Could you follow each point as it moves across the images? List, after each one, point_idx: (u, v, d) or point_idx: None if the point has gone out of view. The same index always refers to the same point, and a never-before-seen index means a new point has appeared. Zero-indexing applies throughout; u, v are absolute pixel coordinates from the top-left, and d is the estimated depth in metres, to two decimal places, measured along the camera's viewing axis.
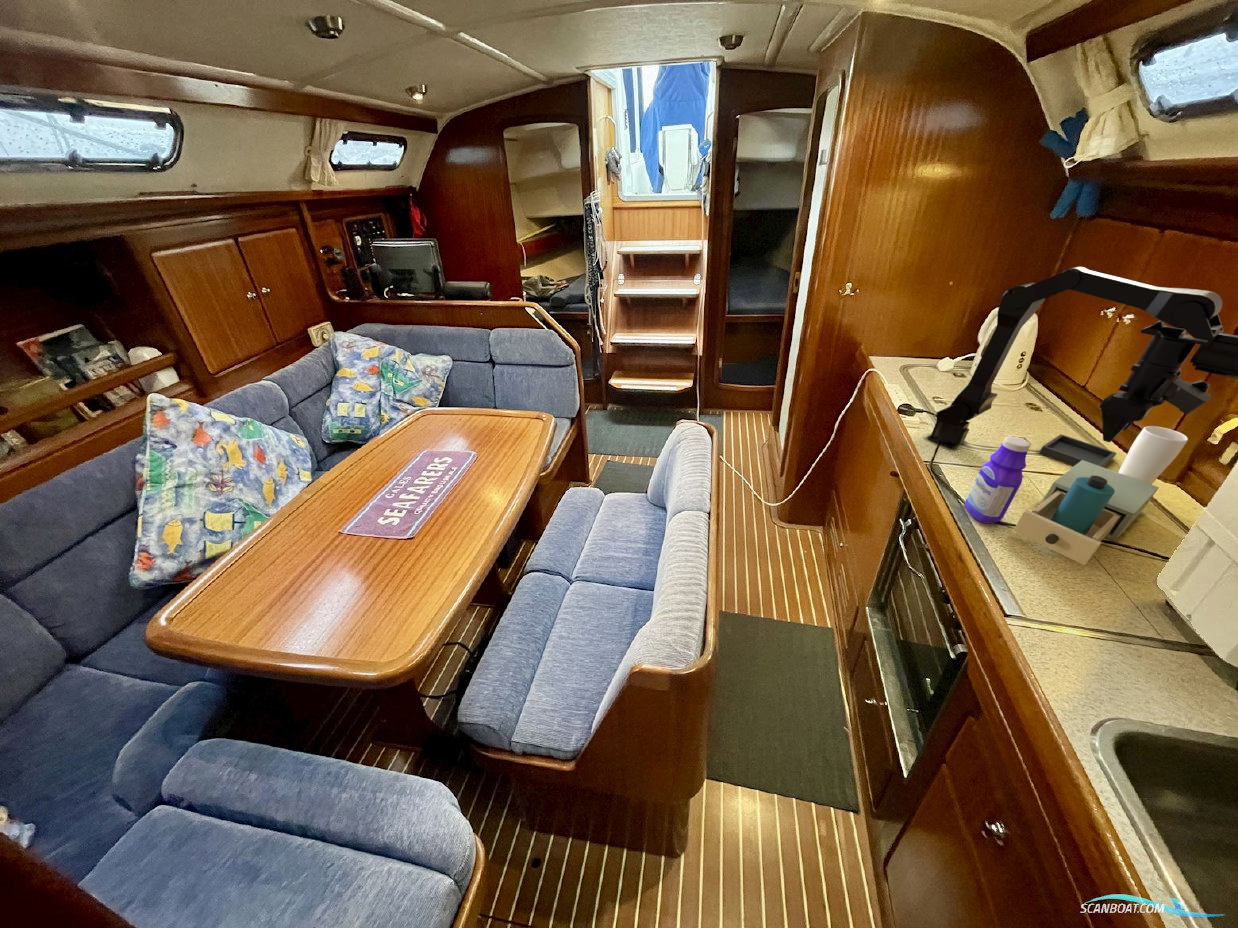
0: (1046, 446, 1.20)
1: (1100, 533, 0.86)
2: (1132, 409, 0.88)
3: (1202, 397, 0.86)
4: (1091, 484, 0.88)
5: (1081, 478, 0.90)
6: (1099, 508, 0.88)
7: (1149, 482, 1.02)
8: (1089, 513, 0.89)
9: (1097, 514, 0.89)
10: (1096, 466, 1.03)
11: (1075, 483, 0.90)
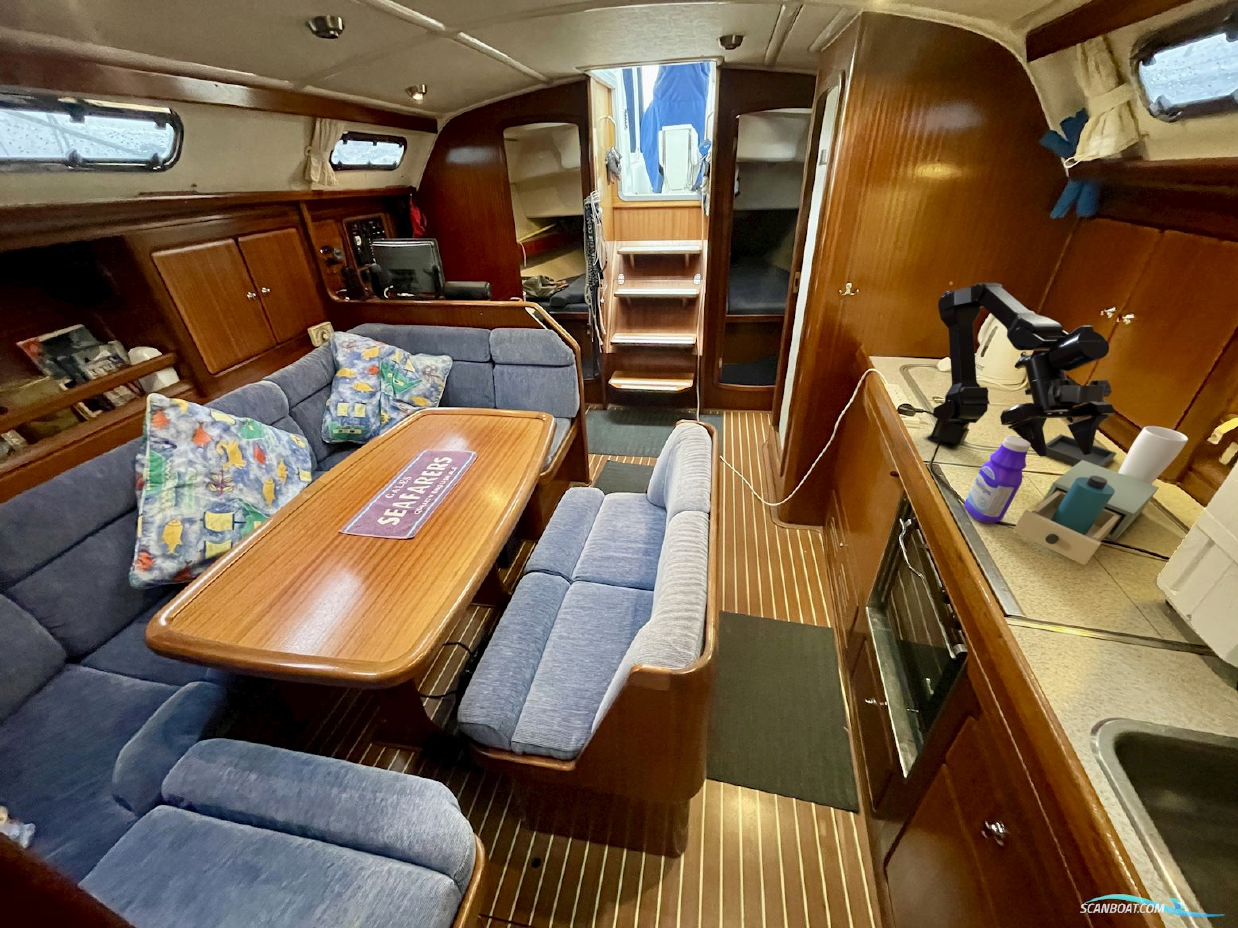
0: (1046, 446, 1.20)
1: (1100, 533, 0.86)
2: (1016, 411, 0.94)
3: None
4: (1091, 484, 0.88)
5: (1081, 478, 0.90)
6: (1099, 508, 0.88)
7: (1149, 482, 1.02)
8: (1089, 513, 0.89)
9: (1097, 514, 0.89)
10: (1096, 466, 1.03)
11: (1075, 483, 0.90)
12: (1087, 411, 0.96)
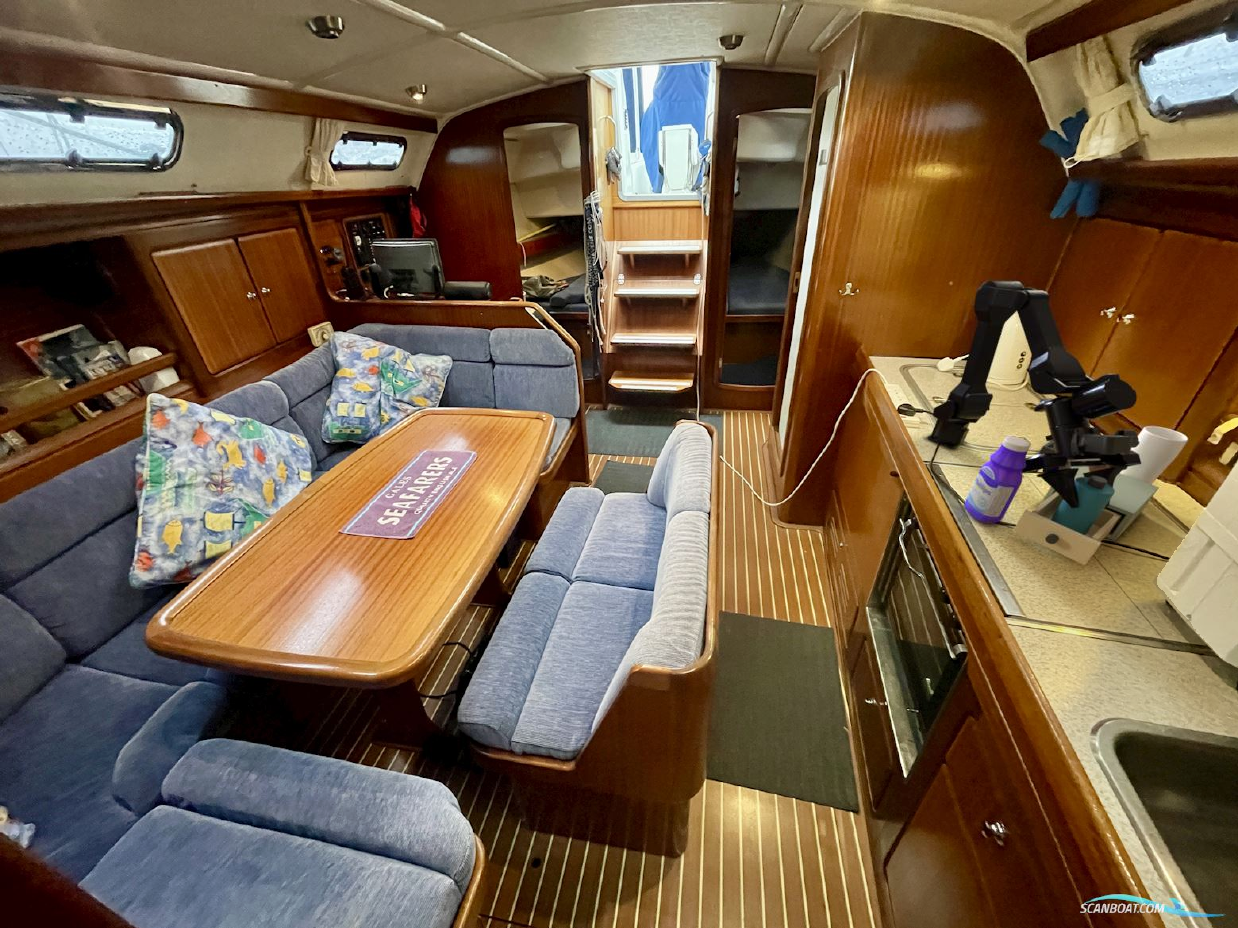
0: (1046, 446, 1.20)
1: (1100, 533, 0.86)
2: (1037, 460, 0.90)
3: (1112, 436, 0.84)
4: (1091, 484, 0.88)
5: (1081, 478, 0.90)
6: (1099, 508, 0.88)
7: (1149, 482, 1.02)
8: (1089, 513, 0.89)
9: (1097, 514, 0.89)
10: None
11: (1075, 483, 0.90)
12: (1112, 460, 0.91)
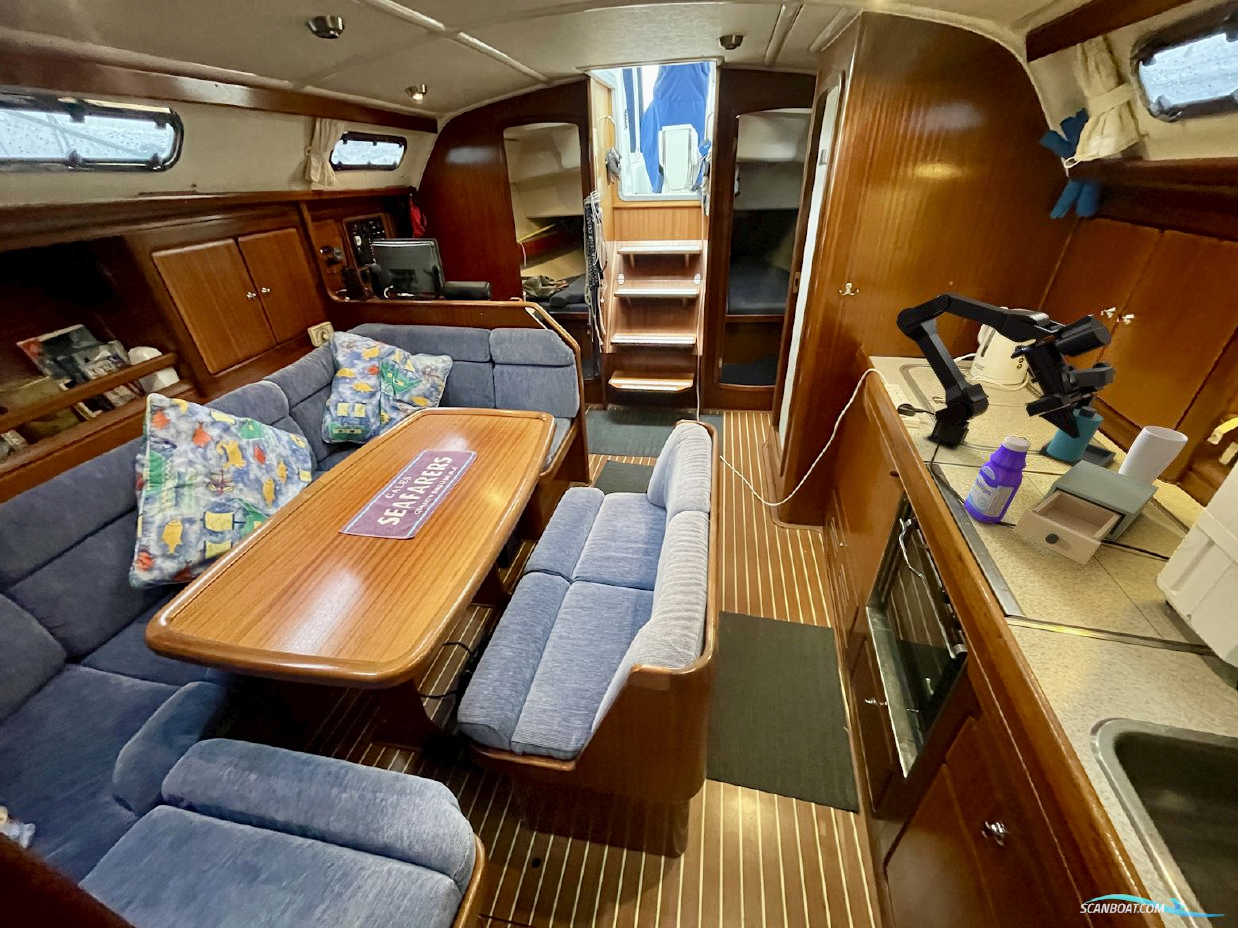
0: (1046, 446, 1.20)
1: (1100, 533, 0.86)
2: (1048, 402, 0.97)
3: (1100, 369, 0.95)
4: (1086, 414, 0.99)
5: None
6: None
7: (1149, 482, 1.02)
8: (1087, 439, 1.00)
9: None
10: (1096, 466, 1.03)
11: None
12: (1081, 390, 1.04)
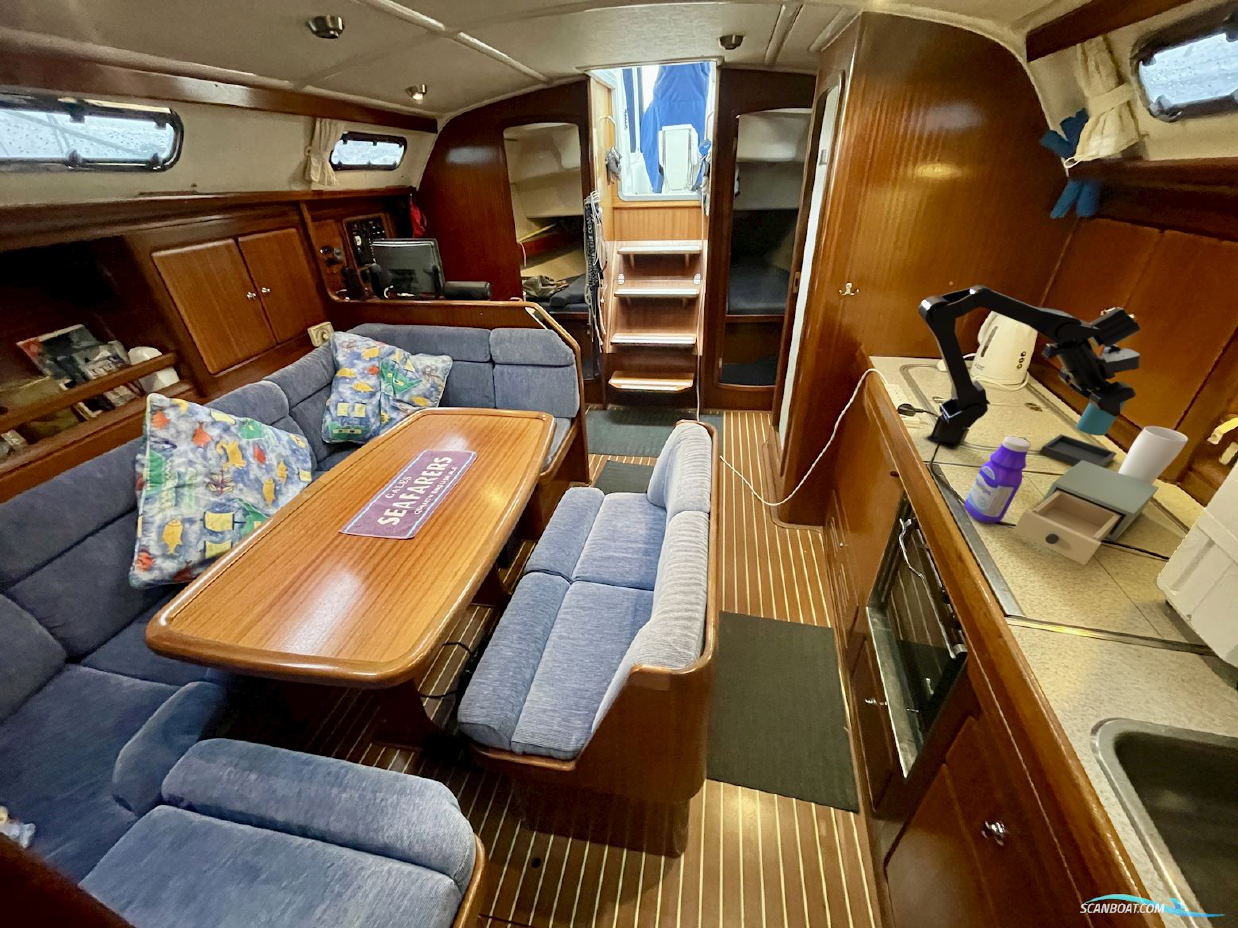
0: (1046, 446, 1.20)
1: (1100, 533, 0.86)
2: (1124, 394, 1.02)
3: (1132, 354, 1.05)
4: None
5: None
6: None
7: (1149, 482, 1.02)
8: None
9: None
10: (1096, 466, 1.03)
11: None
12: None
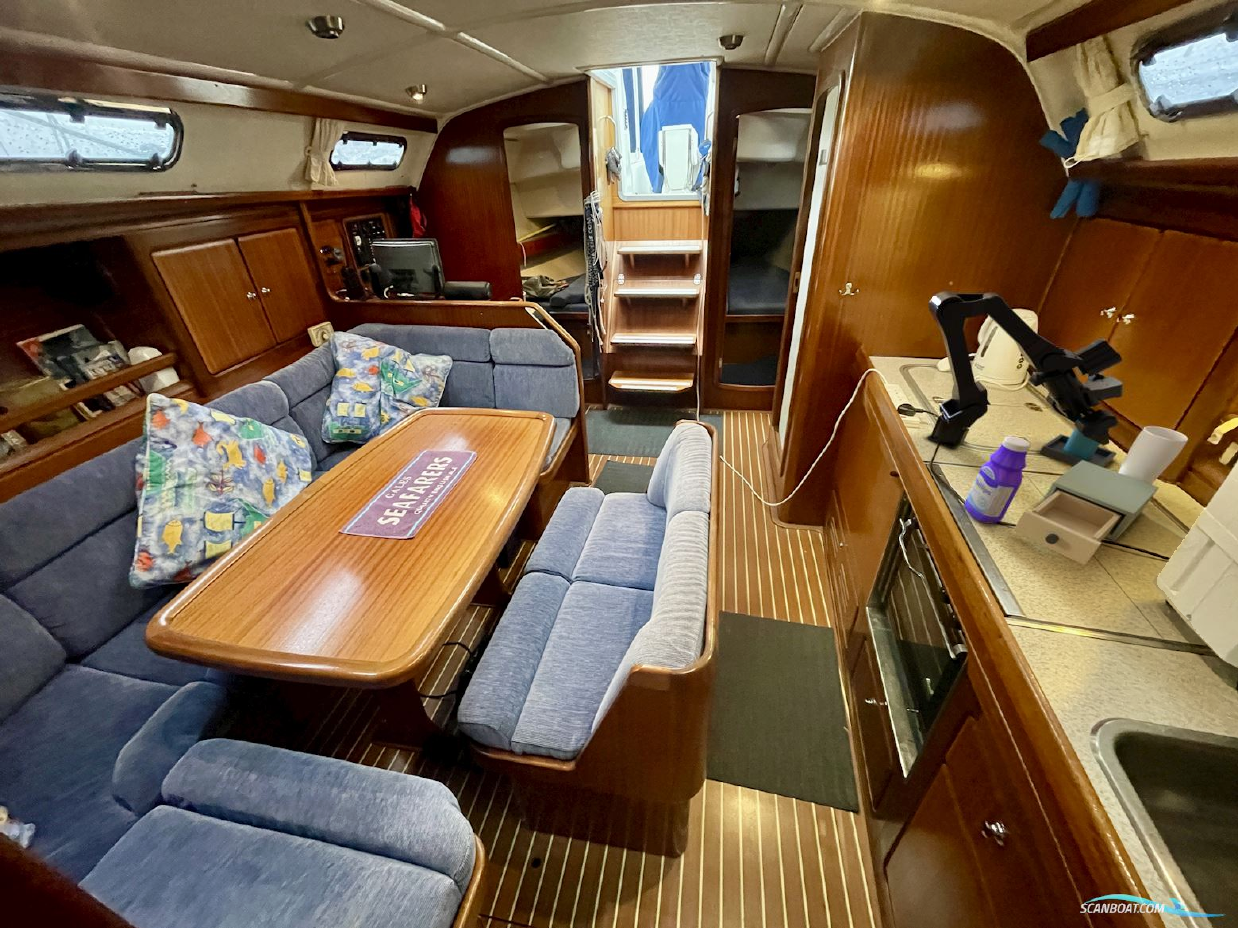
0: (1046, 446, 1.20)
1: (1100, 533, 0.86)
2: (1107, 422, 1.06)
3: (1115, 382, 1.09)
4: None
5: None
6: None
7: (1149, 482, 1.02)
8: None
9: None
10: (1096, 466, 1.03)
11: None
12: None
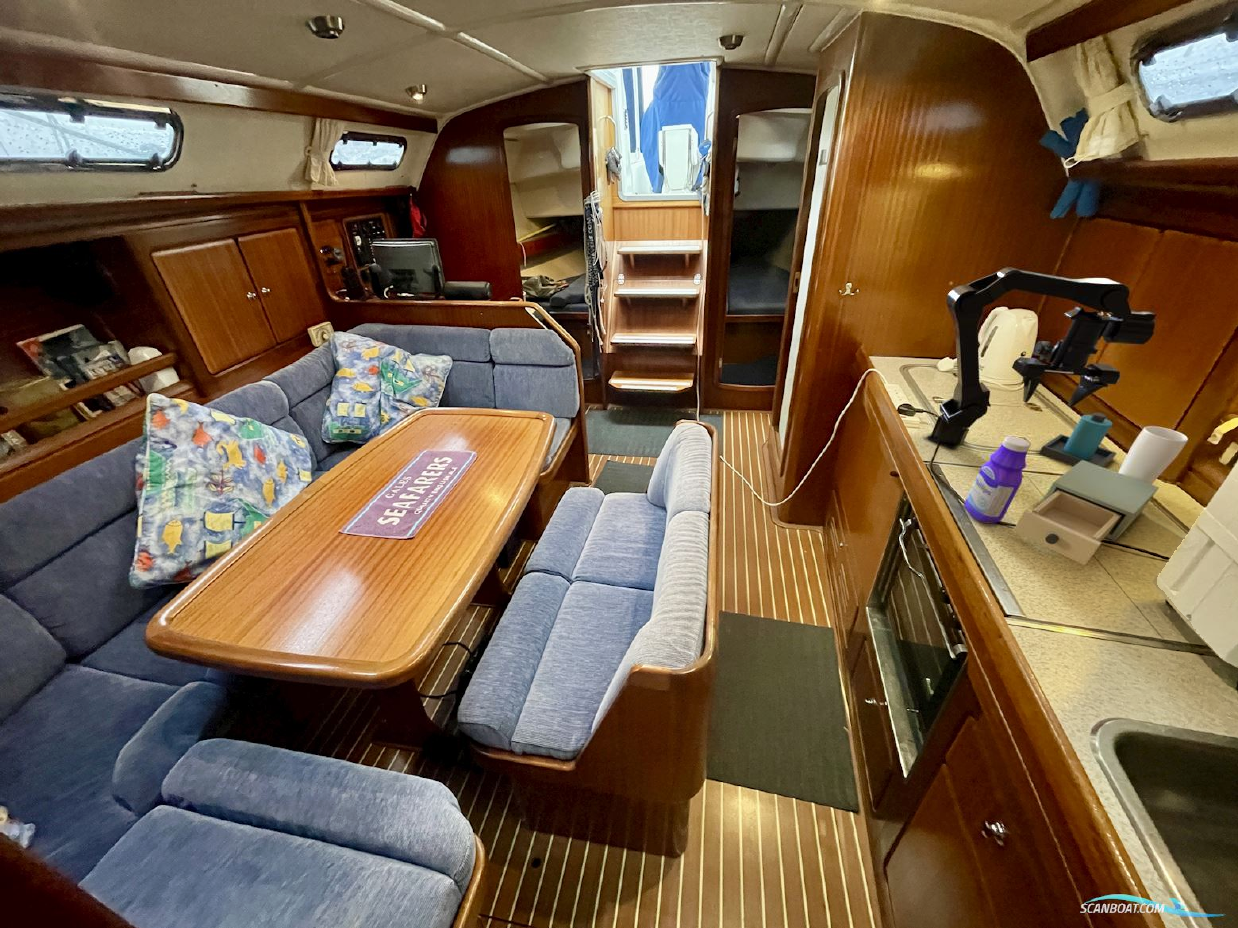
0: (1046, 446, 1.20)
1: (1100, 533, 0.86)
2: None
3: None
4: (1102, 420, 1.13)
5: (1086, 419, 1.14)
6: None
7: (1149, 482, 1.02)
8: None
9: None
10: (1096, 466, 1.03)
11: (1095, 425, 1.13)
12: None
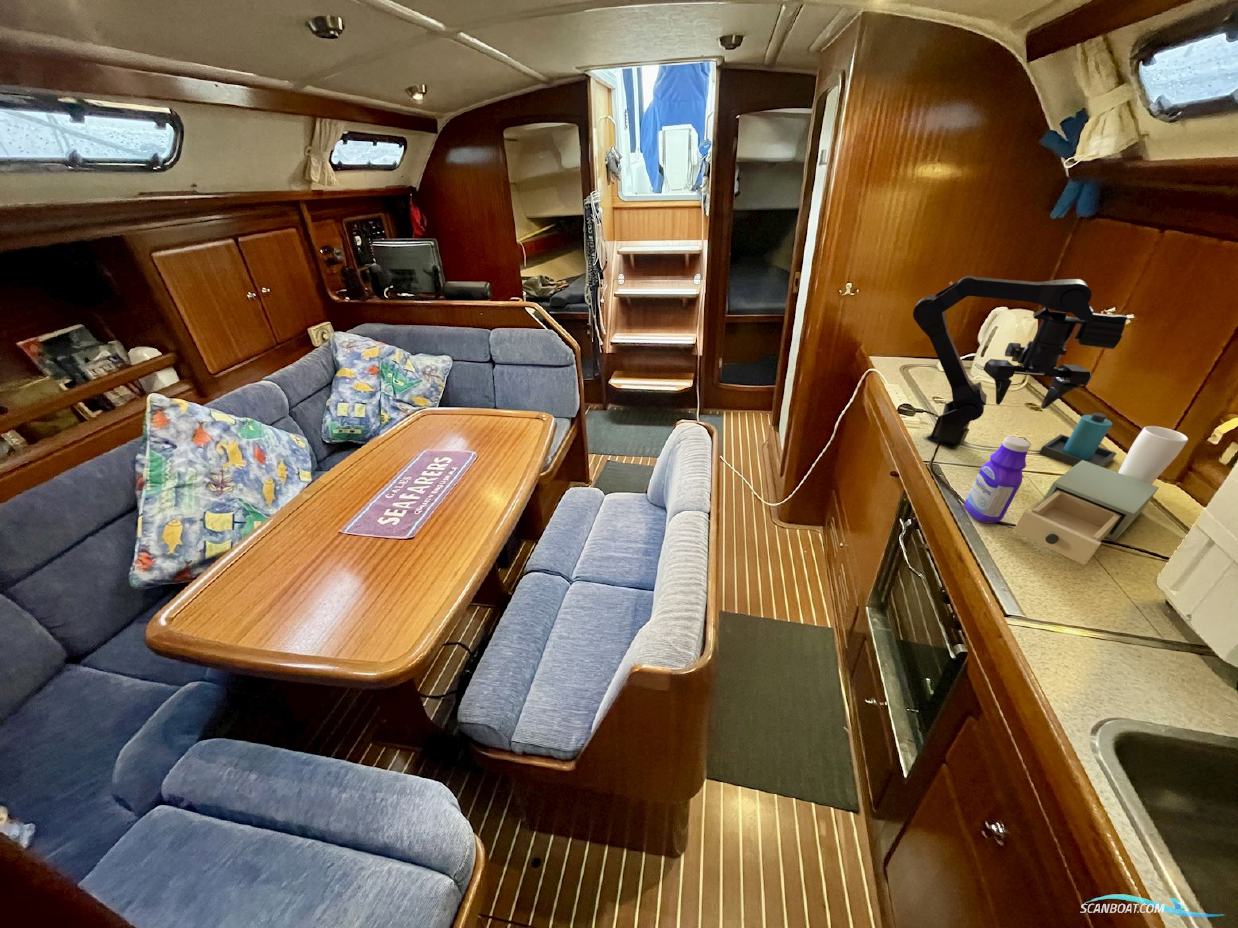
0: (1046, 446, 1.20)
1: (1100, 533, 0.86)
2: None
3: None
4: (1102, 420, 1.13)
5: (1086, 419, 1.14)
6: None
7: (1149, 482, 1.02)
8: None
9: None
10: (1096, 466, 1.03)
11: (1095, 425, 1.13)
12: None
